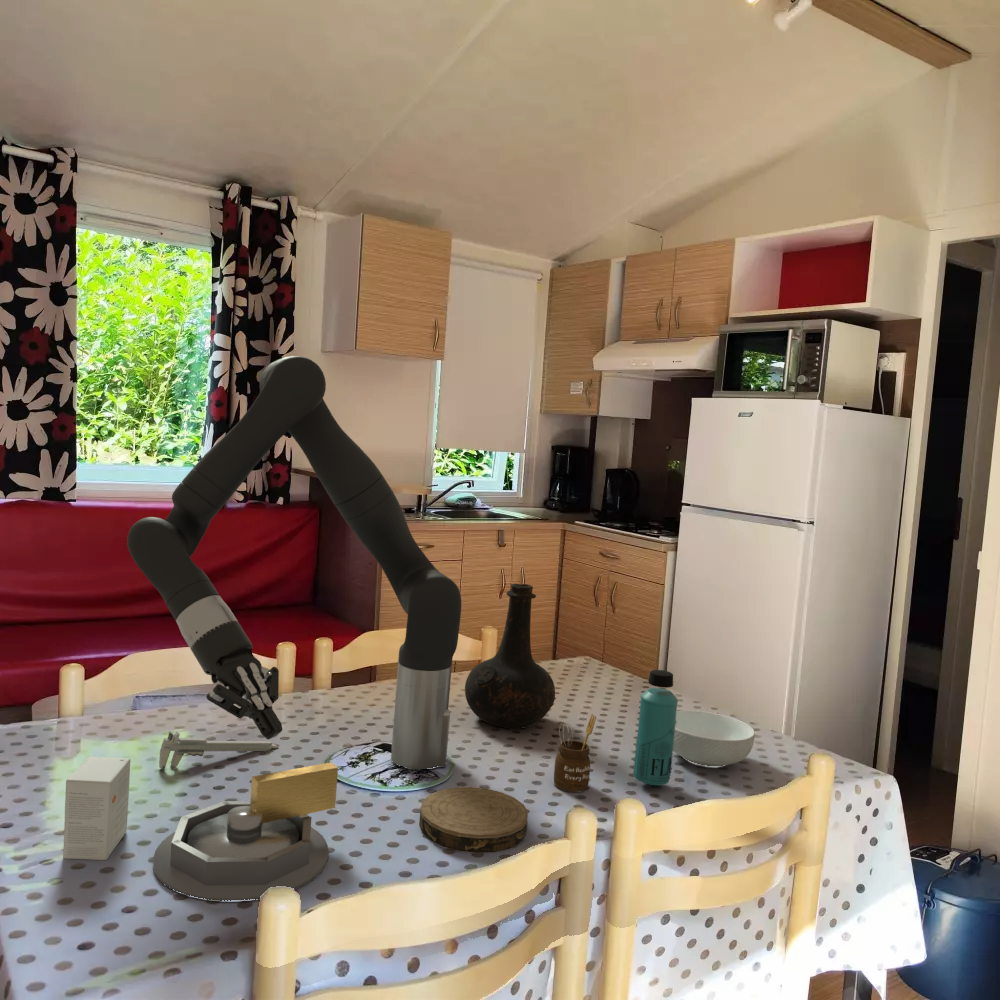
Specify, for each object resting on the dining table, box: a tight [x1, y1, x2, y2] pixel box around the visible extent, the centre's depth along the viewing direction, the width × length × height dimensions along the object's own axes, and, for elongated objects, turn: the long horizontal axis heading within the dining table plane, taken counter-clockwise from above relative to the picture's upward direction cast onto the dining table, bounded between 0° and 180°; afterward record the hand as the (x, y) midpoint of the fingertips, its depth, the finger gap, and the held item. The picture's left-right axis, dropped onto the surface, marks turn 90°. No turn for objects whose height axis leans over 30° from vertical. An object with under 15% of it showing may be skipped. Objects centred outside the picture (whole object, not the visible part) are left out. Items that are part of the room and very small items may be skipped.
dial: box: [187, 762, 339, 858], centre depth 118 cm, size 20×14×9 cm
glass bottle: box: [464, 583, 556, 730], centre depth 178 cm, size 18×18×28 cm
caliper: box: [158, 731, 279, 771], centre depth 148 cm, size 20×1×6 cm, turn 132°
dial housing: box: [152, 800, 329, 901], centre depth 117 cm, size 22×22×4 cm
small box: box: [62, 756, 131, 861], centre depth 117 cm, size 8×6×10 cm
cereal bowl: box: [672, 710, 756, 766], centre depth 167 cm, size 17×17×7 cm
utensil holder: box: [553, 713, 597, 793], centre depth 149 cm, size 6×6×12 cm
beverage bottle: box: [633, 669, 679, 786], centre depth 151 cm, size 6×7×20 cm
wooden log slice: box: [418, 786, 529, 854], centre depth 131 cm, size 16×16×3 cm
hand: (275, 735), depth 125 cm, fingers closed
